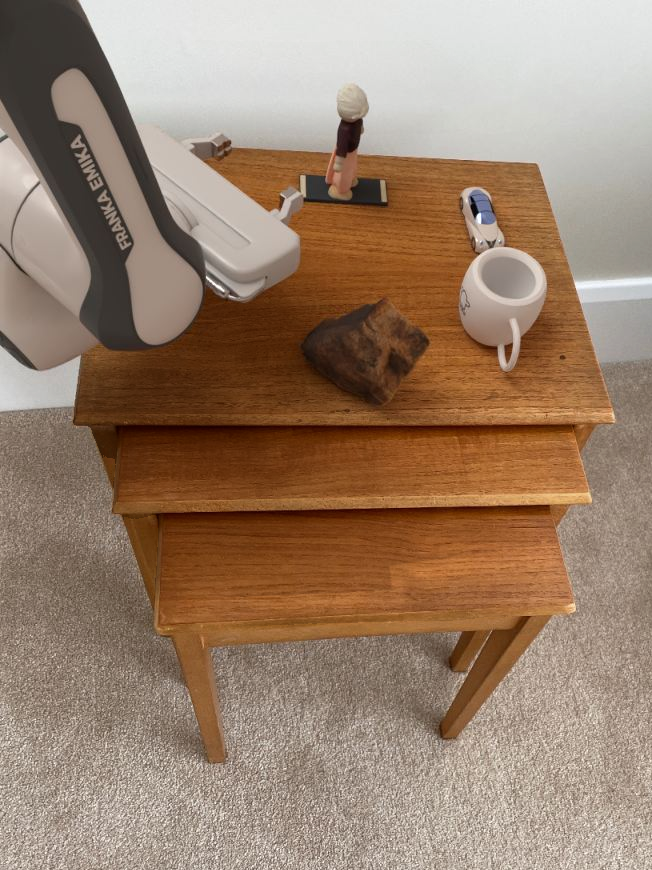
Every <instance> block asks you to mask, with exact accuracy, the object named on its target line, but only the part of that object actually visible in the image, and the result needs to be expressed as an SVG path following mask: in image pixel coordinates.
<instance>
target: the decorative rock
mask: <svg viewBox="0 0 652 870" xmlns="http://www.w3.org/2000/svg"><path fill="white" fill-rule="evenodd" d="M431 343H432V341H431V338H430V337H429V336H428V335H427V334H426V333H425V332H424V330H423V328H422V327H419V326H416V325H414V323H413V322H412V321H411V320H410V319H408V318H407V317H406V316H405V315H403V314H402V312H401V311H399V310H398V309H397V308H396V307H395V305H394V304H393V302H392V301H391V300H390V299H389V298H388V297H382V298H381V299H379V300H378V301H377V302H375V303H366V304H363V305H361V306H360V307H358V308H356V309H354V310H351V311H350V312H348V313H346V314H342V315H340V316H339V317H338V318H331V317H330V318H329V317H327V318H324V319H323V320H321V322H320V323H318V324H317V325H316V326H314V327H313V328H312V330H310V331H309V332H308V333H307V334H306V336H305V338H304V339H303V340H302V342H301V343H300V346H299V349H300V350H301V351H302V353H301V355H302V356H303V357H304V359H305V361H306V362H308V363H309V364H311V365H312V366H313V367H314V368H315V369H316V370H317V371H318V372H320V374H321V375H322V376H325V377H326V378H328V379H330V380H331V381H332V382H333V383H334V384H335V385H336V386H337V387H339V388H340V390H343V391H345V392H349V393H352V394H355V395H357V396H361V397H362V398H363V399H364V400H365V401H366V402H368V403H369V404H371V405H372V406H374V407H377V408H381V407H383V406H385V405H387V404H388V403H389V402H391V401H392V400H393V397H394V396H395V394H396V393H397V391H398V389H400V387H401V385H402V384H403V381H404V380H405V379H406V377H408V376H409V375H410V374H411V372H412V371H413V370H414V369H415V367H416V365H417V364H418V362H419V361H420V360H421V359H422V358H423V356H424V355H425V353H426V351H427V350H428V349H429V347H430V345H431Z"/></svg>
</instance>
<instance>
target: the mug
mask: <svg viewBox="0 0 652 870" xmlns="http://www.w3.org/2000/svg"><path fill="white" fill-rule="evenodd" d="M490 248H491V249H490ZM490 248H489V250H486V251H484V252H483V253H479V255H477V256H476V257H475V258H474V259H473V261H472V262H471V263H470V265H469V267H468V268H467V270H466V272H465V274H464V277H463V280H462V282H461V287H460V291H459V297H458V312H459V318H460V321H461V325H462V327H463V329H464V330H465V332H466V333H467V335H469V336H470V337H471V338H472V339H473V340H475V341H476V342H477V343H480V344H482V345H484V346H489V347H497V357H498V362H499V366H500V368H501V370H502V371H503V372H505V373H509V372H511V371H513V370H514V368H515V367H516V364H517V361H518V358H519V354H520V349H521V337H522V336H524V335H525V334H526V333H527V332H528V331H529V330H530V329H531V327H532V326H533V325H534V324H535V322H536V321H537V319H538V317H539V315H540V313H541V310H542V309H543V306H544V303H545V301H546V297H547V291H548V283H547V276H546V273H545V270H544V268H543V267H542V265H541V264H540V263H539V261H538V260H536V259H535V258H534V257H533V256H531V255H530V254H529V253H527V252H525V251H523V250H520V249H517V248H514V247H509V246H504V247H496V248H493V247H490ZM510 344H512V348H511V355H510V358H509V360H508V362H507V360H506V353H505V352H506V351H505V346H508V345H510Z"/></svg>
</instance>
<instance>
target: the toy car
mask: <svg viewBox="0 0 652 870" xmlns="http://www.w3.org/2000/svg"><path fill="white" fill-rule="evenodd" d="M458 200H459V201H458V202H459V204H458V205H459V209H460V210H461V212H462V214H463V215H464V219H465V224H466V228H467V232H468V235H469V238H470V240H471V243H470V244H471V248H472V250H474V252H475V253H479V254H481V253H483V252H484V251H486V250H489V249H491V248H496V247H505V243H506V239H505V235H504V234H503V232H502V230H501V229H500V227H499V225H498V221H497V217H498V216H499V214H496V213H495V210H494V206H493V199H492V196H491V194H490V193H489V192H488V190H486V189H484V188H482V187H479V186H470V187H467V188H464V189H463V190H462V191H461V193H460V195H459V199H458Z"/></svg>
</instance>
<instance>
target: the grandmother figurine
mask: <svg viewBox="0 0 652 870" xmlns="http://www.w3.org/2000/svg"><path fill="white" fill-rule="evenodd" d="M336 103H337V105H336V111H337V114H338V116H339V118H340V122H339V124H338V126H337V127H338V128H337V131H336V144H335V146H334V148H333V151H332V154H331V157H330V160H329V163H328V166H327V170H326V175H325V176H326V180H325V181H326V183H327V184H332V185H331V186H330V188H329V191H328V194H329V196H330V197H332V198H335V199H340V200H350V199H351V198H352V191H351V190H350V188H351V187H355V186H356V185H357V184H358V180H357V178H358V177H357V173H358V172H357V171H358V149H359V147H360V141H361V136H362V135H363V134H364V132H365V127H364V120H363V119H364V118H366V116H367V114H368V113H369V110H370V104H369V101H368V97H367V93H366V92H365V91H364V90H363V88H361V87H360V86H359V84H356V83H354V82H347V83H344V85H343V86H342V87H341V88H340V89H339V90H338V91H337V95H336Z"/></svg>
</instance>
